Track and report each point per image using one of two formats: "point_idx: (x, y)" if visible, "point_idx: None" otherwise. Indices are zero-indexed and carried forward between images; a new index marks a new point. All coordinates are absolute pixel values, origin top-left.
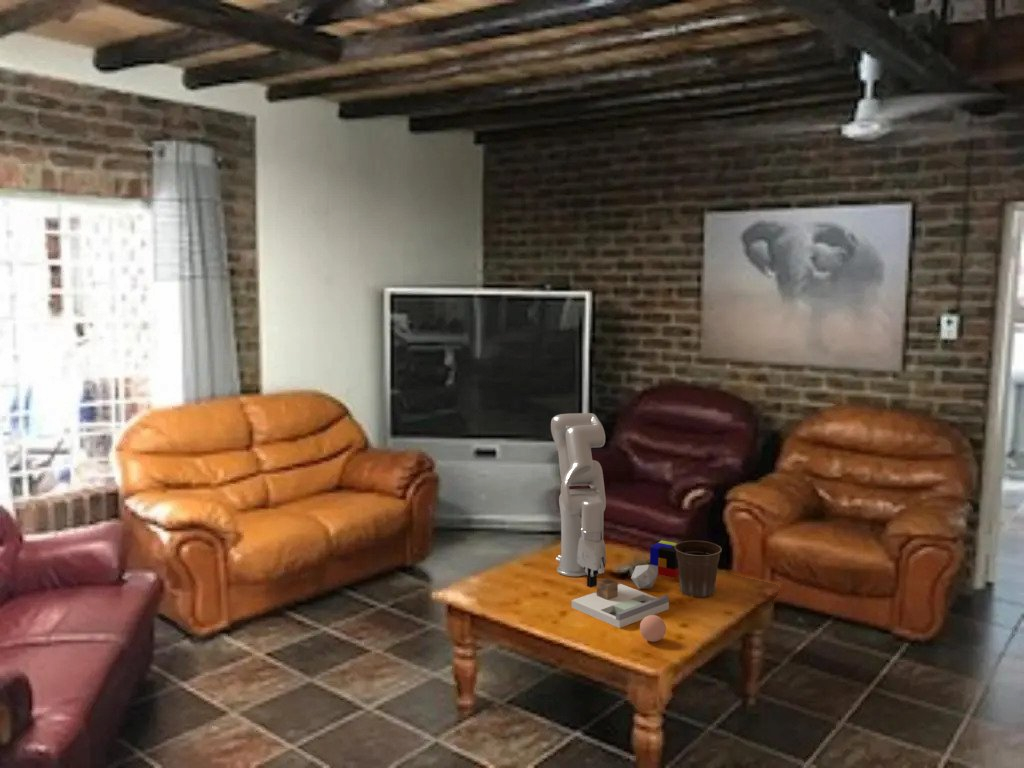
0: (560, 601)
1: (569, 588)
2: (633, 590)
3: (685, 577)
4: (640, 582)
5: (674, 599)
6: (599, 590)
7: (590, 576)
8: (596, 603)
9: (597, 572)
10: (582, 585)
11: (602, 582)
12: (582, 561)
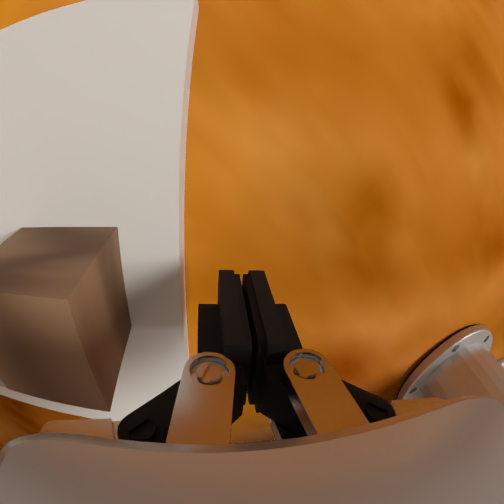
0: (335, 43)
1: (409, 254)
2: (89, 409)
3: None
4: None
5: (39, 422)
6: (66, 250)
7: (230, 350)
8: (16, 115)
9: (119, 428)
10: (374, 327)
11: (27, 320)
12: (444, 490)
